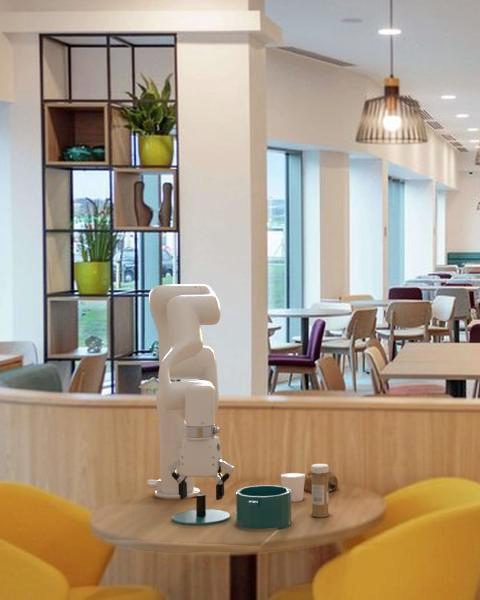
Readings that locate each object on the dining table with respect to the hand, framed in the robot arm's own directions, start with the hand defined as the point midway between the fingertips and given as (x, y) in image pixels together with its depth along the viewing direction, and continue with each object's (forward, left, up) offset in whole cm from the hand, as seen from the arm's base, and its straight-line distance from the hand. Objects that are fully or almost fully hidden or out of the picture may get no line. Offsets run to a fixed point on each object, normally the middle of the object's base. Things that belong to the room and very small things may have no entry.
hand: (201, 498), depth 274 cm
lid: (0, +1, -5) cm, 5 cm away
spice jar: (+29, +11, -6) cm, 31 cm away
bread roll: (+21, +42, -6) cm, 47 cm away
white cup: (+17, +28, -6) cm, 33 cm away
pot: (+17, 0, -6) cm, 18 cm away
